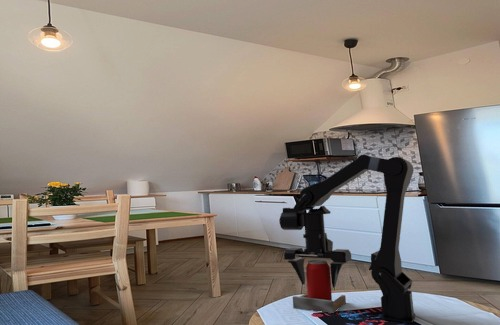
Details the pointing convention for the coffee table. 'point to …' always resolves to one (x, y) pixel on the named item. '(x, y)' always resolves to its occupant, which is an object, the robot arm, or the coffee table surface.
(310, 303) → the guide channel
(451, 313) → the coffee table surface
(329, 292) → the beverage can
